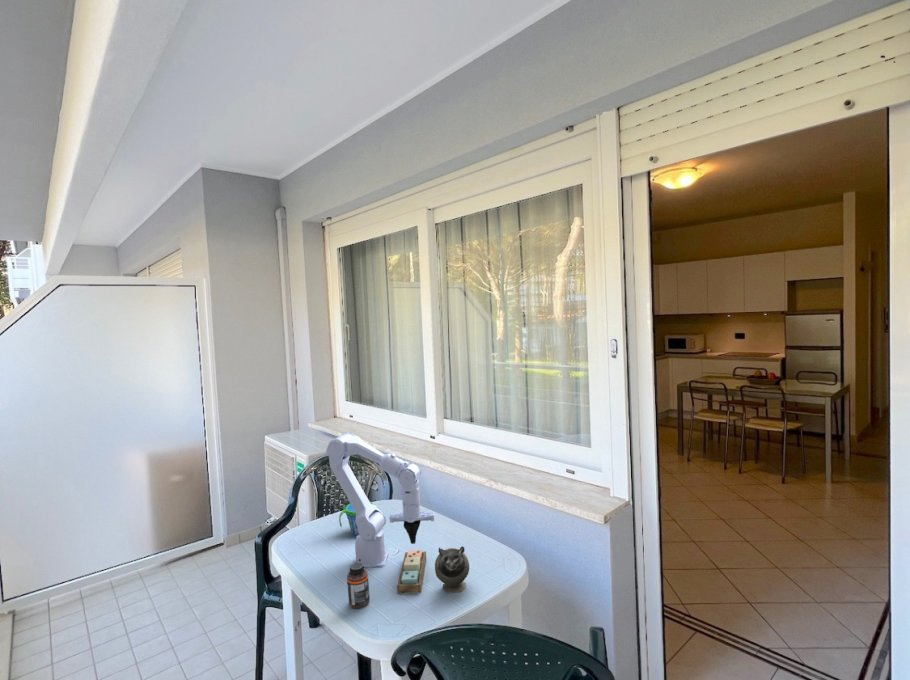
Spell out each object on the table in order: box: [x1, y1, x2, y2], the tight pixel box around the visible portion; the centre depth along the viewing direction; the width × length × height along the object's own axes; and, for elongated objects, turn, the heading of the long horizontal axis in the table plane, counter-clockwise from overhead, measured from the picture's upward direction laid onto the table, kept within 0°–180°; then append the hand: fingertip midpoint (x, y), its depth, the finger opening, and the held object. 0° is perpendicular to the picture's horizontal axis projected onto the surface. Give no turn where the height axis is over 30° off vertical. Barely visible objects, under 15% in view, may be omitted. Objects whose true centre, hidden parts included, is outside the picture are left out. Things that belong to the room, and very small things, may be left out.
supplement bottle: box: [346, 561, 371, 609], centre depth 136 cm, size 6×6×11 cm
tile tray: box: [396, 551, 427, 595], centre depth 149 cm, size 7×19×2 cm, turn 179°
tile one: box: [404, 557, 421, 572], centre depth 149 cm, size 5×5×3 cm
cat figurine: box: [434, 546, 470, 594], centre depth 141 cm, size 10×12×10 cm
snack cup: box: [338, 500, 381, 537], centre depth 181 cm, size 16×10×10 cm
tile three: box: [407, 549, 423, 561], centre depth 156 cm, size 5×5×3 cm
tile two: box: [401, 571, 419, 584], centre depth 143 cm, size 5×5×3 cm
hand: (413, 542), depth 155 cm, fingers closed
